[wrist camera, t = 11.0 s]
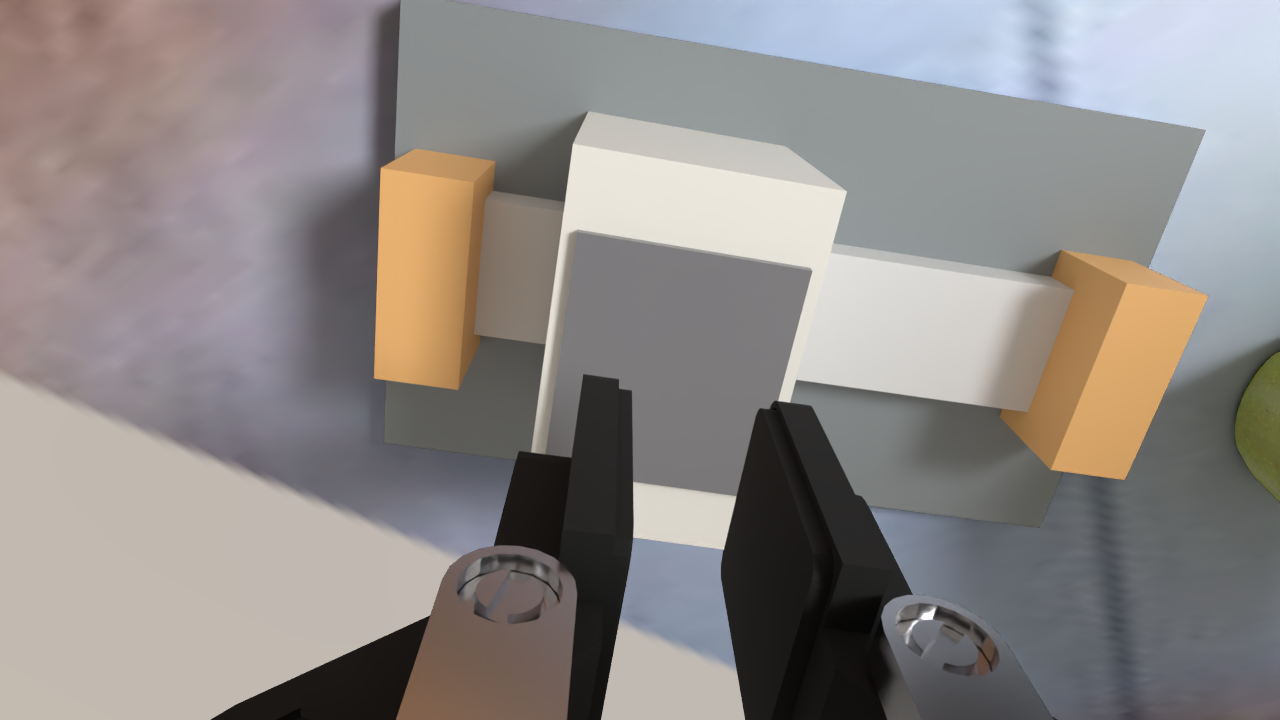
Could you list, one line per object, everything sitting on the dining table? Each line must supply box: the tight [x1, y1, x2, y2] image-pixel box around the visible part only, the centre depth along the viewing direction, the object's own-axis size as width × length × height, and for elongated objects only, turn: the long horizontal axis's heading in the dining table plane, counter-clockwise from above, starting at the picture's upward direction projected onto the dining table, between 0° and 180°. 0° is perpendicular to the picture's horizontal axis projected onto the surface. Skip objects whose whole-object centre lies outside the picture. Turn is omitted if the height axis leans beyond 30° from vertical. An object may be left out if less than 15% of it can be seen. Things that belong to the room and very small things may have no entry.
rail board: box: [374, 0, 1208, 528], centre depth 20 cm, size 20×12×4 cm, turn 81°
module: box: [531, 111, 847, 550], centre depth 18 cm, size 5×8×6 cm, turn 170°
